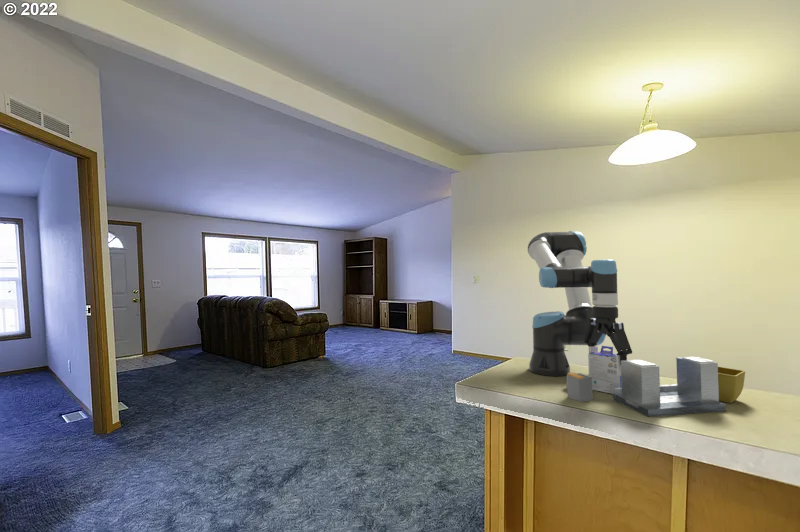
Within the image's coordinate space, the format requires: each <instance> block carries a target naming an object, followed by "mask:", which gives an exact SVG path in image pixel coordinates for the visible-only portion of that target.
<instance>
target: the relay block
mask: <svg viewBox="0 0 800 532" xmlns="http://www.w3.org/2000/svg"><path fill="white" fill-rule="evenodd" d="M575 373H576V372H572V371H570V373H568V375H566V389H567V397H568V398H570V399H571V398H572V400H574V401H576V402H578V401H579V403H581V402H587V401H589V402H590V401H593V397H594V396H593V390H592V377H589V375H586V374H583V373H576V374H575Z"/></svg>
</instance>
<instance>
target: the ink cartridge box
mask: <svg viewBox="0 0 800 532" xmlns="http://www.w3.org/2000/svg"><path fill="white" fill-rule="evenodd" d="M604 349H609V350H604ZM616 354H617V353H614V346H606V345H601V348H600V352H599V351H598V352H591V353H589V352H588V355H587V357H588V358H587V359H588V376H589V377H592V391H598V392H603V393H608V394H611V395H613V388H622V383H621V376H617V361H616Z"/></svg>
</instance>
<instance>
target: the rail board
mask: <svg viewBox="0 0 800 532" xmlns="http://www.w3.org/2000/svg"><path fill="white" fill-rule="evenodd" d="M675 359H676V360H675V361H676V362H675V363H676V383H674V384H673V383H672V384H661V383H660V382H661V381H660V377H661V376H660V365H657V364H656V363H652V362H649V361H646V360H642V359H627V360H622V361H621V383H622V388H613V394H612V401H614V402H617V403H619V404H621V405H623V406H624V407H627V408H629V409H631V410H633V411H635V412H637V413H639V414H641V415H643V416H645V417H647V418H655V417H665V416H669V417H670V416H679V415H690V414H691V415H693V414H705V413H706V414H707V413H718V412H719V413H720V412H727V406H726V405H727V404H726V402H723V401H719V390H718V367H719V363H718V362H715V361H714V360H712V359H707V358H703V357H699V356H681V357H680V356H679V357H676V358H675Z"/></svg>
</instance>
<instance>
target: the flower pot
mask: <svg viewBox="0 0 800 532" xmlns="http://www.w3.org/2000/svg"><path fill="white" fill-rule="evenodd" d="M745 376H746V371H745V370H741V369H736V368H730V367H729V368H728V367H723V366H718V390H719V402H722V403H727V404H731V403H733V402H735V401H737V400H738V398H739V397H740V395H741V394H742V392H743V390H744V386H745V378H746V377H745Z"/></svg>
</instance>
